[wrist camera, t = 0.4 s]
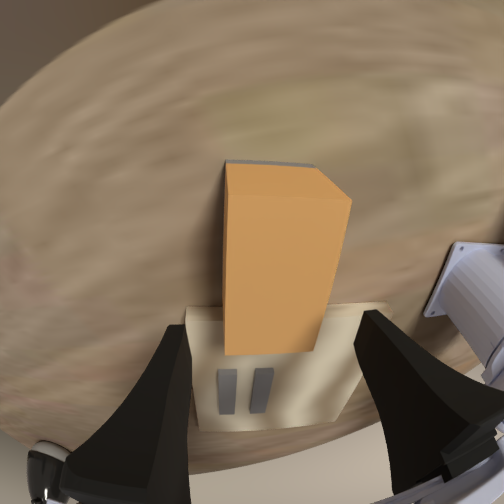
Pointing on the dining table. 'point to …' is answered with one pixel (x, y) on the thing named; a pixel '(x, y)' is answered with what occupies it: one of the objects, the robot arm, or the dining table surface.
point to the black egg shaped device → (46, 472)
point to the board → (278, 372)
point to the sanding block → (278, 254)
